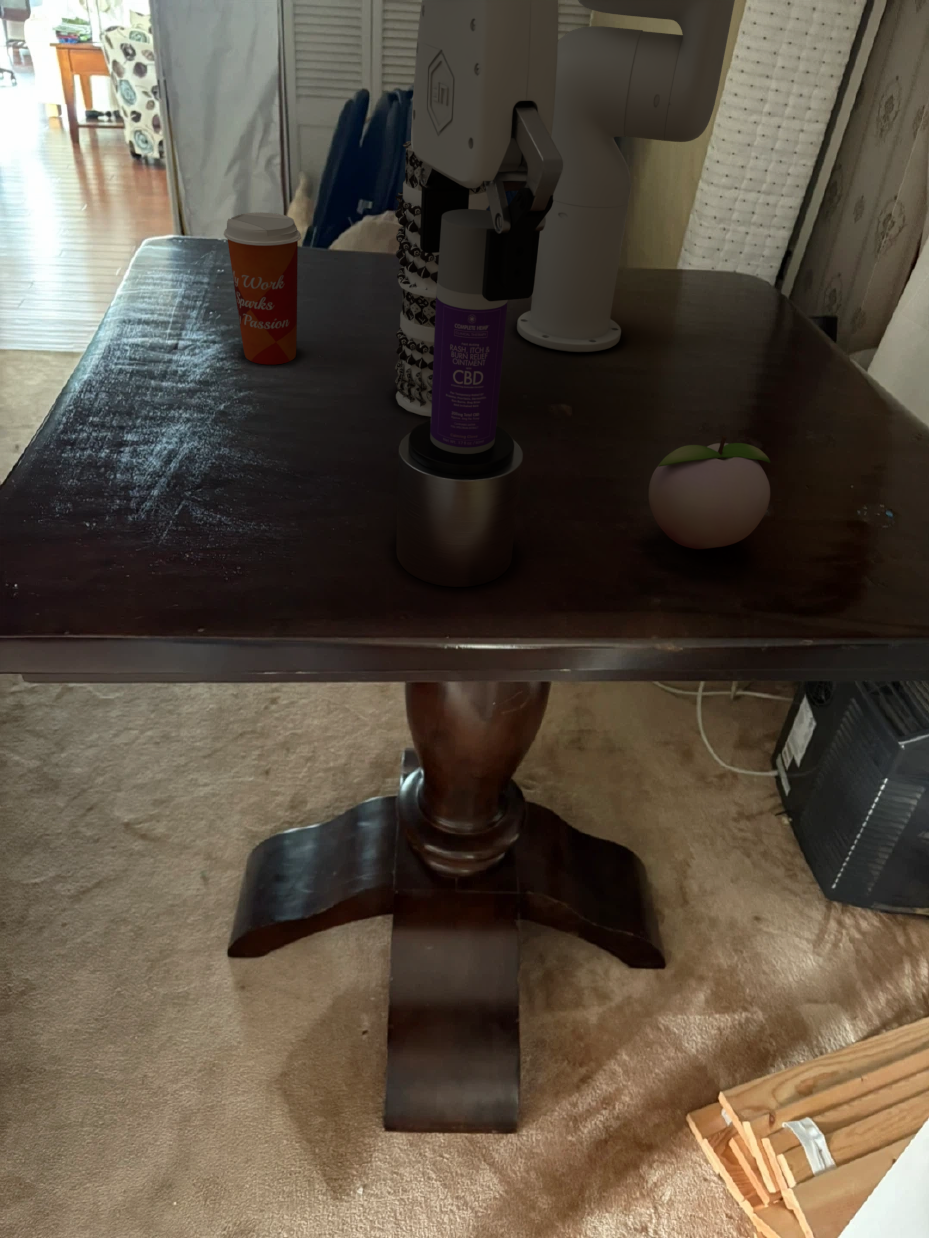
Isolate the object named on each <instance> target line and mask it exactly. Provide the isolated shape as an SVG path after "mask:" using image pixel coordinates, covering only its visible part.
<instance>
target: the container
mask: <svg viewBox="0 0 929 1238" xmlns="http://www.w3.org/2000/svg"><path fill="white" fill-rule="evenodd" d="M487 229H495V228H494V224H493V219H492V215H491V210H487V209H486V210H478V209H459V210H452V211H448V212H446V213H444V214H443V215H442V220H441V235H440V249H439V264H438V278H437V292H436V310H435V334H434V357H433V381H432V404H431V416H430V420H431V428H430V439H431V441H432V443H433V444H434V445H435V446H437V447H438V448H440V449H442V450H445V451H448V452H452V453H458V454H475V453H480V452H484V451H486V450H488V449H490V448H491V447H492V446H493V445H494V443H495V435H496V426H497V423H498V414H499V413H498V412H499V402H500V390H501V380H502V369H503V368H502V366H503V359H504V357H503V356H504V347H505V336H506V325H507V316H508V315H507V314H508V305H509V300H502V301H488V300H486V299H485V298H484V297H483V295H482V287H483V273H484V259H485V246H486V232H487Z"/></svg>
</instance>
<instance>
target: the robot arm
mask: <svg viewBox="0 0 929 1238" xmlns="http://www.w3.org/2000/svg"><path fill="white" fill-rule="evenodd" d="M577 1H578V3H579V4H580V5H582V7H584V8H585V9H589V10H591V11H596V12H599V13H604V14H610V15H618V16H626V17H636V18H637V17H638V18H646V19H647V18H648V19H649V18H650V19H659V20H668V21H674V22H675V23H676V24H677V25H678V26H679V27H680V30H681V34H676V33H667V32H657V31H656V32H655V31H645V30H643V29H635V28H634V29H633V28H623V27H622V28H621V27H615V26H614V27H612V26H601V25H600V26H597V25H594V26H592V25H591V26H583V27H579V28H574V29H572V30H570V31H568V32H567V33H565V34H564V35H562V36H561V37H560V38H559V0H421V4H420V11H419V19H418V20H419V21H418V28H417V37H416V38H417V39H416V51H415V61H414V62H415V64H414V77H413V78H414V79H413V93H412V108H411V109H412V111H411V127H410V128H411V130H410V131H411V132H410V141H411V145H412V149H413V151H414V153H415V154H416V156H417V157H418V158H419V159H420V160H421V161H422V162H423V163H422V166H421V169H420V181H421V184H422V185H423V186H429V187H423V188H422V194H421V227H420V248H421V250H423V251H424V252H425V253H439V249H440V235H441V220H442V215H443V214H444V213H446V212H448V211H452V210H459V209H468V208H469V191H470V188H477V187H479V186H480V185H481V184H482V182H483V181H484V183H485V188H486V192H487V197H488V201H489V206H488V207H489V211H491V215H492V219H493V224H494V228H495V229H487V232H486V246H485V259H484V273H483V287H482V295H483V297H484V298H485V299H486V300H488V301H502V300H508V301H512V300H523V299H529V298H531V305H530V310H527V311H526V312H523V313H522V314H521V315H520V316H519V317H518V318H517V321H516V322H517V324H516V330H517V333H518V334H519V335H520V336H521V337H522V338H523V339H524V340H526V341H528V342H530V343H532V344H534V345H536V346H539V347H542V348H546V349H550V350H554V351H561V352H570V353H593V352H599V351H604V350H607V349H611V348H612V347H615V346H616V345H617V344H618V343H619V342H620V339H621V335H622V328H621V327H620V325H619V324H618V323H617V322H616V321H615V320H613V319H611V316H612V309H613V302H614V297H615V291H616V283H617V278H618V274H619V273H618V272H619V266H620V260H621V255H622V248H623V241H624V235H625V229H626V222H627V216H628V211H629V203H630V197H631V190H632V177H631V172H630V169H629V166H628V164H627V162H626V159H625V157H624V156H623V154H622V152H621V150H620V148H619V146H618V145H617V143H616V141H615V138H616V137H617V138H627V137H628V138H636V139H644V140H653V141H654V140H655V141H661V142H662V141H663V142H672V143H686V142H691V141H694V140H696V139H697V138H699V137H701V135H702V134H703V133H704V132H705V130H706V129H707V127H708V125H709V123H710V121H711V117H712V116H713V112H714V109H715V105H716V100H717V96H718V91H719V87H720V82H721V75H722V70H723V65H724V59H725V55H726V49H727V43H728V37H729V32H730V28H731V22H732V17H733V12H734V7H735V2H736V0H577ZM459 185H462V186H459ZM506 192H516V193H515V195H514V196H513V198H512V200H511V201H510V203H508V199H507V194H506Z"/></svg>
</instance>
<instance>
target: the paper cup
mask: <svg viewBox="0 0 929 1238" xmlns="http://www.w3.org/2000/svg"><path fill="white" fill-rule="evenodd" d="M223 237H224V238H225V239H227V245H228V252H229V253H228V254H229V260H230V265H231V266H230V267H231V274H232V280H233V287H234V295H235V301H236V309H237V314H238V322H239V328H240V336H241V341H242V348H243V354H244V356H245V358H246V359H247V360H248V361H250V362H252V363H255V364H259V365H267V366H269V365H271V366H272V365H281V364H286V363H290V362H291V361H293V360H294V359H295V358H296V356H297V339H298V337H297V336H298V261H299V260H298V259H299V258H298V256H299V255H298V254H299V253H298V252H299V247H298V246H299V241H300V240H301V239H302V234H301V232H300V230H299V229H298V226H297V225H296V223H295V219H293V217H291V216H288V215H286V214H280V213H273V212H261V211H260V212H259V211H258V212H257V211H256V212H255V211H254V212H244V213H240V214H238V215H235V216H233V217H232V216H231V218H228V219H227V220H226V228H225V229H224V231H223Z"/></svg>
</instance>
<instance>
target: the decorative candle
mask: <svg viewBox="0 0 929 1238" xmlns="http://www.w3.org/2000/svg"><path fill="white" fill-rule="evenodd" d="M402 146H403V147H404V149H405V171H404V173H405V174H404V181H403V183H402V191H401V192H400V191H398V192H397V195H395V197H394V198H395V200H396V201H397V202H398V206H397V207H396V209H395V211H394V217H396V218H397V223H398V224H399V225H401V226H400V227H399V228H398V229H397V234H396V236H395V239H396V241H397V242H398V245H399V246H398V250H396V252H395V257H396V258H397V259H398V264H399V265H400V267H399V269H398V273H397V274H396V279H397V283H398V285H399V286H400V288H401V289H402V302H401V303H402V304H401V311H400V312H399V313H400V317H399V318H400V319H399V328H398V331H397V332H396V333H395V336H396V338H397V339H398V346H396V349H395V352H396V354H398V358H399V359H398V360H397V362H396V364H395V367H394V370H395V372H396V374H397V377H396V379H395V381H394V384H395V385H394V386H395V387H396V388H397V392H396V394H395V399H396V401H397V405H399V406H400V407H402V408H403V409H405V410H406V411H407V412H409V413H414V414H416V415H420V416H423V417H424V416H425V417H431V404H432V381H433V357H434V334H435V310H436V292H437V278H438V264H439V253H425V252H424V251H423V250H421V248H420V227H421V194H422V188H423V187H429V186H423V185H422V184H421V181H420V169H421V166H422V163H423V162H422V161H421V160H420V159H419V158H418V157H417V156H416V154H415V153H414V151H413V149H412V145H411V140H409V141H406V142H405V143H403V144H402ZM459 186H462V185H459ZM489 207H490V206H489V201H488V197H487V192H486V188H485V183H484V181H483V182H482V184H481V185H480V186H479V187H477V188H470V191H469V208H468V209H478V210H487V209H488V208H489Z"/></svg>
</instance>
